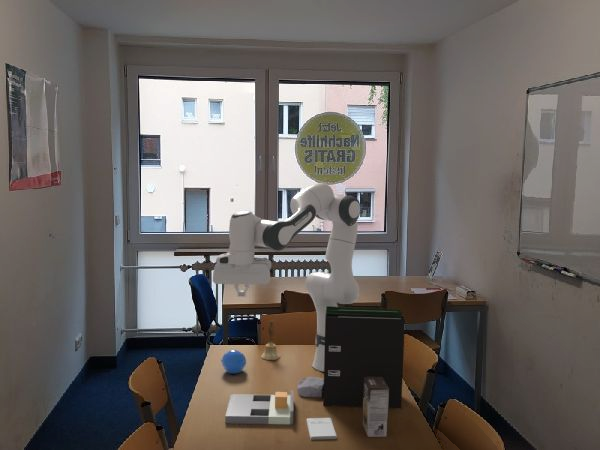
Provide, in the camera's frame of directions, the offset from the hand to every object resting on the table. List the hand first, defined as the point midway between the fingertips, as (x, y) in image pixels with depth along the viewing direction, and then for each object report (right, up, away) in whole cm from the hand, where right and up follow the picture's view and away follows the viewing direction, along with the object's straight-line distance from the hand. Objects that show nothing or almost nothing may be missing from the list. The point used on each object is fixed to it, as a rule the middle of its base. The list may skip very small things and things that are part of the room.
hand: (241, 296), depth 199 cm
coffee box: (+44, -41, -19) cm, 63 cm away
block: (+14, -36, -8) cm, 40 cm away
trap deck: (+7, -38, -8) cm, 40 cm away
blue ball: (-6, -34, +27) cm, 44 cm away
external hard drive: (+27, -41, -19) cm, 53 cm away
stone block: (+25, -37, +11) cm, 46 cm away
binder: (+43, -38, +4) cm, 57 cm away
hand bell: (+8, -32, +45) cm, 56 cm away
